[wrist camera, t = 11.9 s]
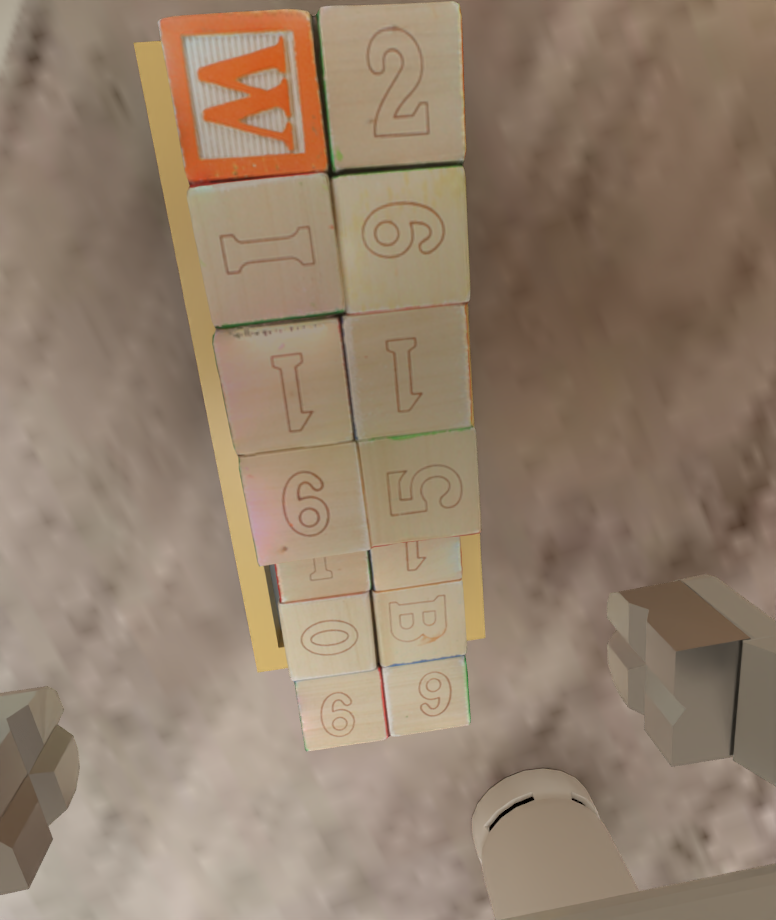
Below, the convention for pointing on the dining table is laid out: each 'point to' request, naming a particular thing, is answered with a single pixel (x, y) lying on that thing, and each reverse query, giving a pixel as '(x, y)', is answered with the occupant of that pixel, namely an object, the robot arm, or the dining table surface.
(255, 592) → the yellow and grey tray
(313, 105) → the stack of blocks
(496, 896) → the bottle
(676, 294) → the dining table surface
